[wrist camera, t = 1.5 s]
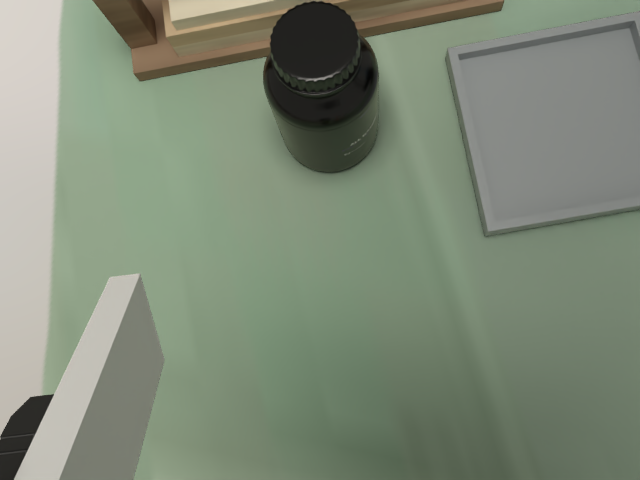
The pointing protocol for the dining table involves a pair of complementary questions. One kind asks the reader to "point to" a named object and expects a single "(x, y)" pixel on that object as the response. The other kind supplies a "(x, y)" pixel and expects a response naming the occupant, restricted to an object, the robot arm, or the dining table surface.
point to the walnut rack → (162, 60)
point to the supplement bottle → (322, 86)
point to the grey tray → (551, 122)
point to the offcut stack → (256, 19)
